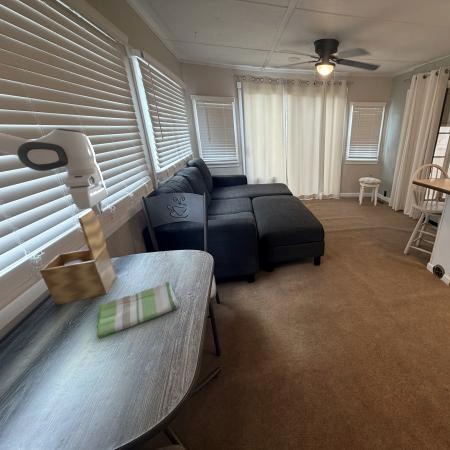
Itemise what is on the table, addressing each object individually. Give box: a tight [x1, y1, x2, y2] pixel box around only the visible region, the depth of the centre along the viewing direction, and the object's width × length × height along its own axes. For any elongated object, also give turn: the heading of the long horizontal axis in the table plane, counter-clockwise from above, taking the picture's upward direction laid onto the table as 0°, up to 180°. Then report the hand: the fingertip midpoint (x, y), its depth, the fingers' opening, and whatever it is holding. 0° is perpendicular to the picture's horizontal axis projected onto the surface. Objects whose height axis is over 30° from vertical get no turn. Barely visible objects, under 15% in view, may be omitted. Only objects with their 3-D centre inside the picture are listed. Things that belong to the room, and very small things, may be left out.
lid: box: [77, 208, 107, 260], centre depth 91 cm, size 17×14×1 cm
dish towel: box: [96, 280, 180, 339], centre depth 84 cm, size 17×23×4 cm
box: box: [39, 246, 117, 306], centre depth 94 cm, size 16×14×15 cm
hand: (99, 214), depth 90 cm, fingers closed
